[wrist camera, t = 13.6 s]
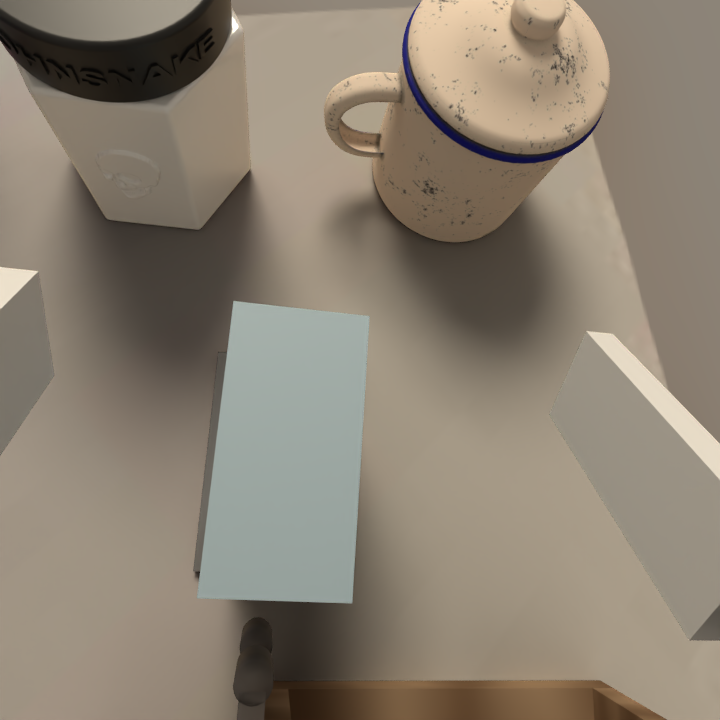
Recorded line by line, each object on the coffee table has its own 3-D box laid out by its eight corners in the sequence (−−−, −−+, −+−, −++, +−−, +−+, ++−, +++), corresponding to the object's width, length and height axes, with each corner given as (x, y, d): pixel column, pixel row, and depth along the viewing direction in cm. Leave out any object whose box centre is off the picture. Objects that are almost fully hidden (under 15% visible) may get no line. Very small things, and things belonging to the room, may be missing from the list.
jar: (59, 220, 27) (-97, 20, 15) (86, 79, 29) (-36, -192, 17) (244, 240, 28) (227, 70, 17) (257, 105, 30) (250, -132, 19)
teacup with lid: (506, 107, 33) (630, -88, 22) (531, 247, 31) (680, 112, 20) (308, 102, 31) (332, -119, 19) (321, 252, 29) (356, 103, 18)
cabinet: (141, 1033, 20) (30, 1520, 11) (219, 353, 27) (191, 279, 17) (614, 989, 23) (857, 1342, 14) (585, 385, 30) (739, 336, 20)
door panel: (316, 553, 25) (352, 603, 14) (227, 549, 24) (197, 598, 14) (329, 382, 27) (369, 316, 16) (247, 375, 26) (233, 300, 16)
